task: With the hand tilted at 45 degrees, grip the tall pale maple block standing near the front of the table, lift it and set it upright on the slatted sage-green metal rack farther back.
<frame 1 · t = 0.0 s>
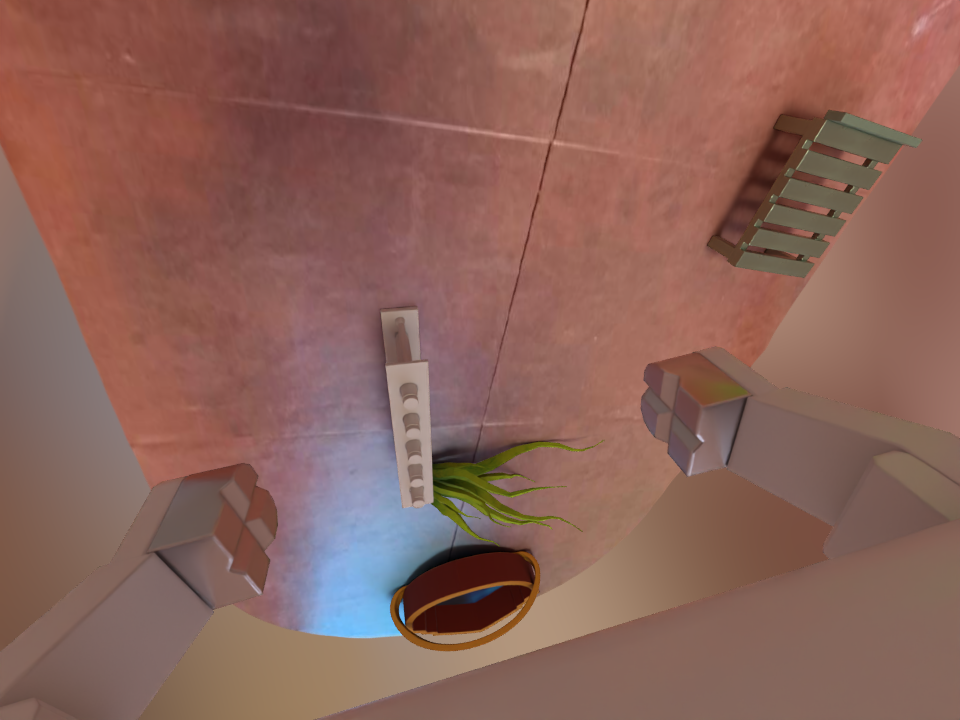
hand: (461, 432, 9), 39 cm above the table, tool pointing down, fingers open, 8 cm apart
rack: (774, 193, 53), on the table
test tube rack: (405, 384, 58), on the table
decorative basket: (463, 572, 96), on the table
decorative plant: (504, 450, 72), on the table
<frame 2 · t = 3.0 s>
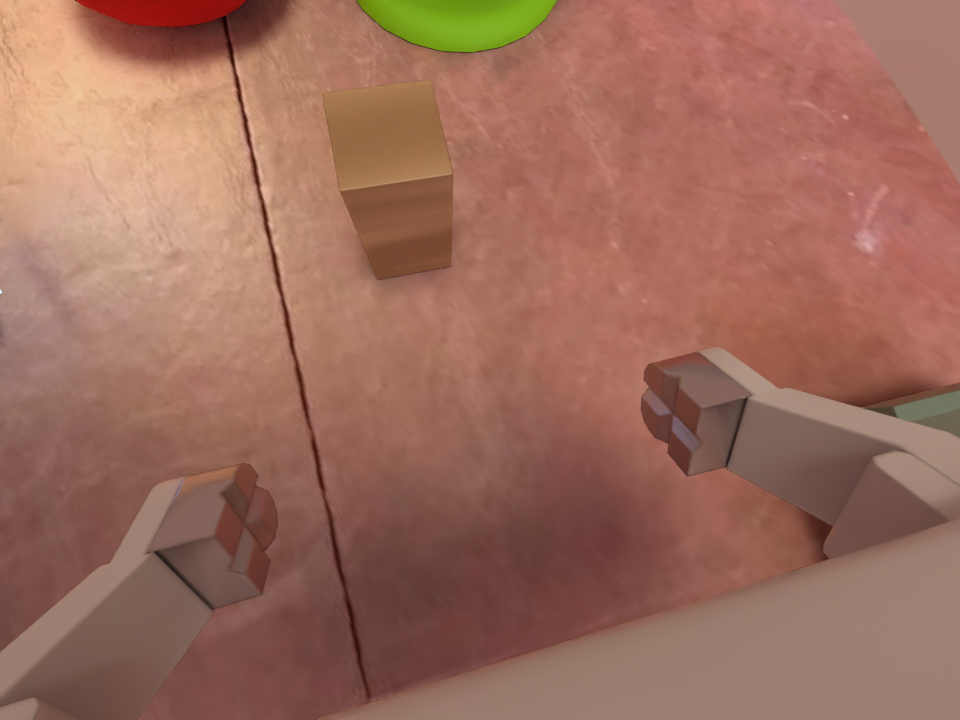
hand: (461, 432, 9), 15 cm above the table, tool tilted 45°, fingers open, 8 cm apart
rack: (905, 542, 24), on the table
block: (407, 239, 26), on the table
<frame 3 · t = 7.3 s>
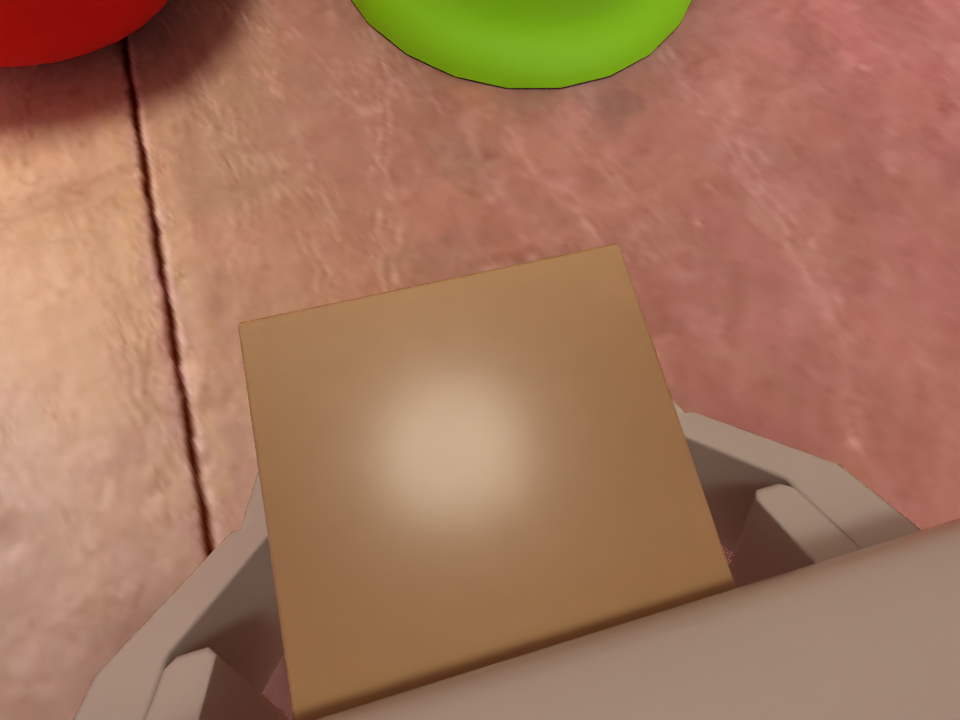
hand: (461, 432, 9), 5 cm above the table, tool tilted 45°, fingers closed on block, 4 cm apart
block: (465, 458, 13), on the table, touching gripper
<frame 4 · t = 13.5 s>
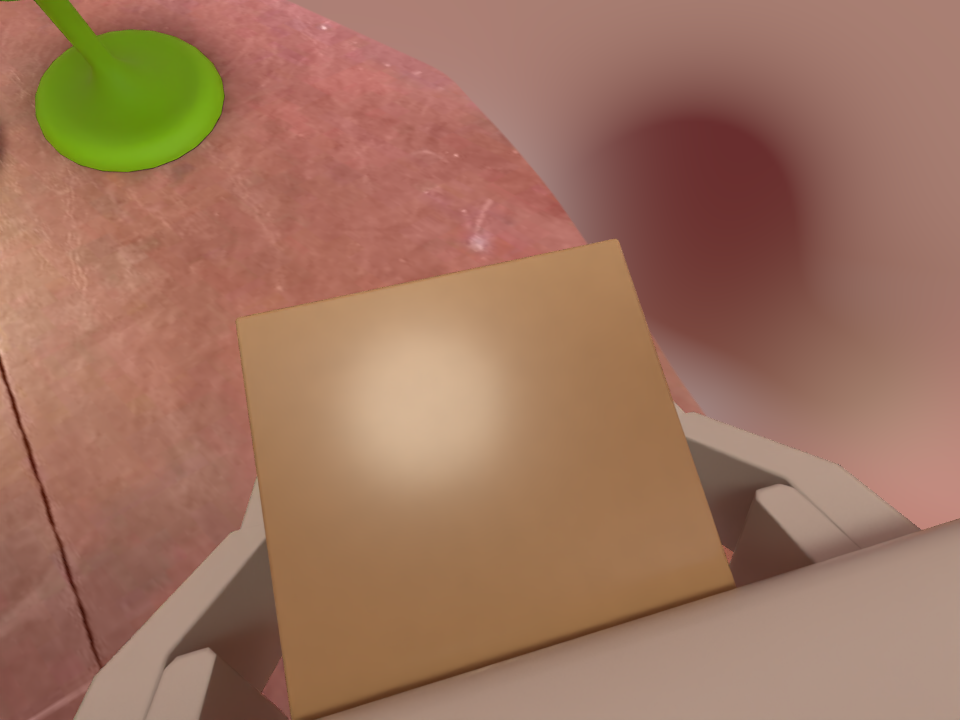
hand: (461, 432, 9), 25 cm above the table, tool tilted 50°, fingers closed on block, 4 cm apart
wineglass: (135, 101, 39), on the table
block: (465, 456, 13), point 20 cm above the table, touching gripper
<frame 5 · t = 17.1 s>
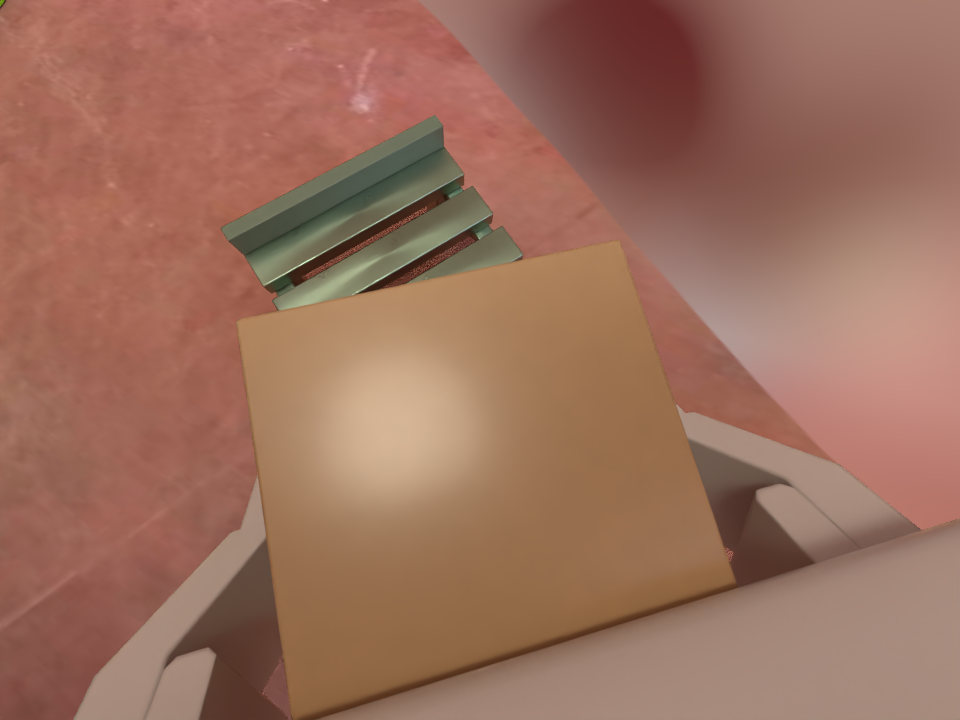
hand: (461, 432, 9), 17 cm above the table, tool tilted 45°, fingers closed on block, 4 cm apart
rack: (436, 348, 27), on the table
block: (465, 456, 13), point 13 cm above the table, touching gripper
when the fingers open (11 cm above the table, at t = 19.8 s): block stays where it is, resting on rack.
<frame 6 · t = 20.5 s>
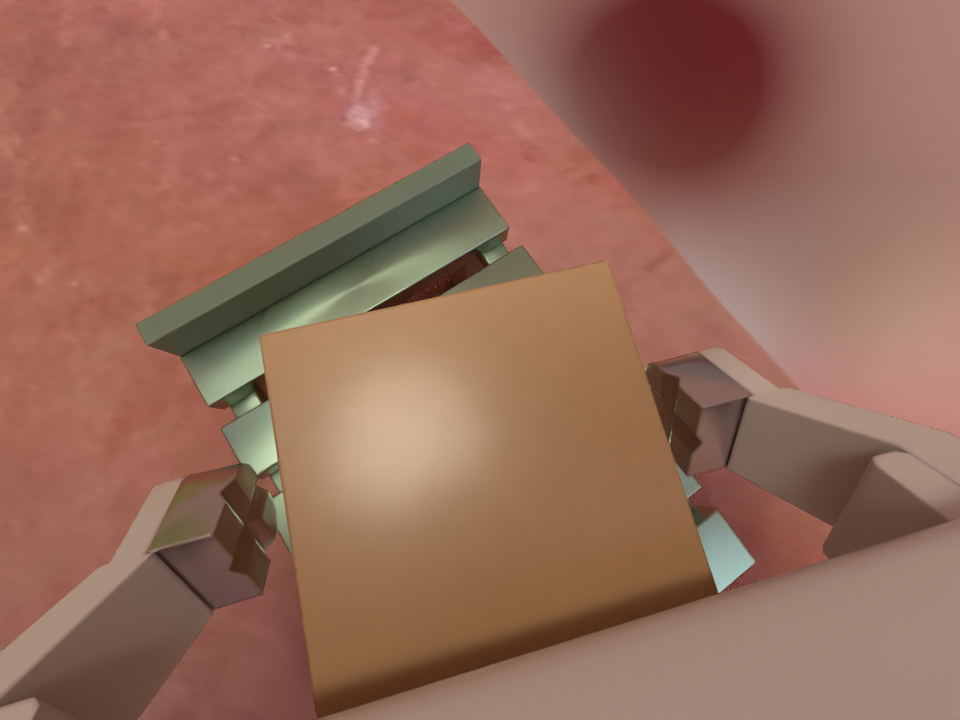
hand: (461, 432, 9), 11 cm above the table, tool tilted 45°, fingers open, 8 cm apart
rack: (462, 455, 19), on the table
block: (466, 458, 14), point 6 cm above the table, touching rack
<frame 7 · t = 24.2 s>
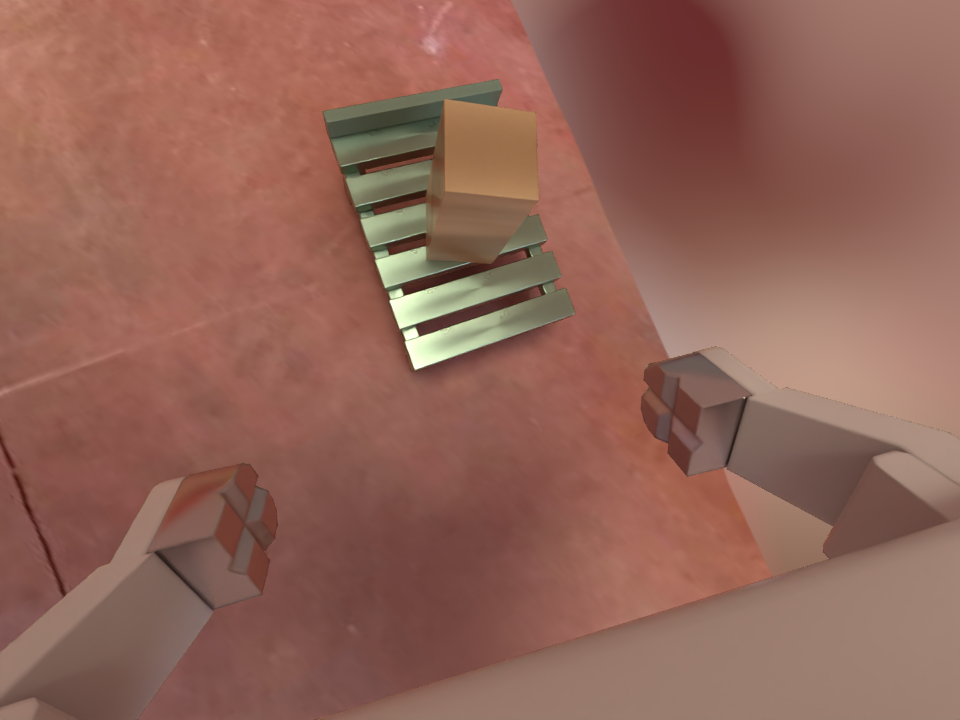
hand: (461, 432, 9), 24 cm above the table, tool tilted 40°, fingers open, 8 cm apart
rack: (445, 260, 34), on the table
block: (459, 229, 28), point 6 cm above the table, touching rack
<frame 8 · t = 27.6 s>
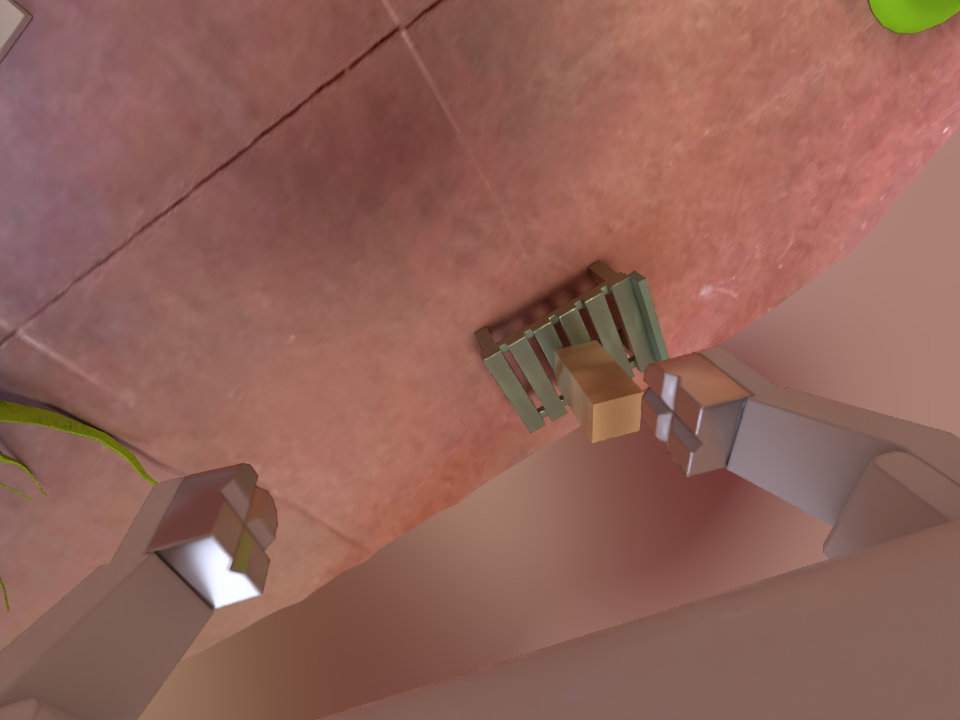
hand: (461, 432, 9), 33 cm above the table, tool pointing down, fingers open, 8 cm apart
rack: (554, 335, 48), on the table
block: (575, 362, 43), point 6 cm above the table, touching rack
decorative plant: (30, 408, 40), on the table
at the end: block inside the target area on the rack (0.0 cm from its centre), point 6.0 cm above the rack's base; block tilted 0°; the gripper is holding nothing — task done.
